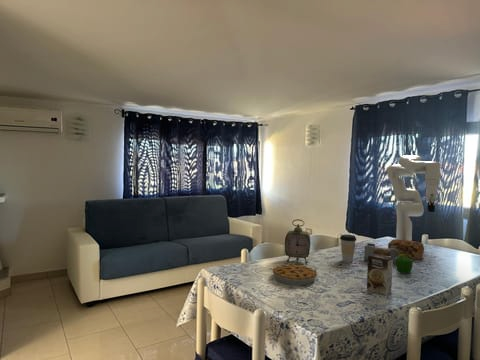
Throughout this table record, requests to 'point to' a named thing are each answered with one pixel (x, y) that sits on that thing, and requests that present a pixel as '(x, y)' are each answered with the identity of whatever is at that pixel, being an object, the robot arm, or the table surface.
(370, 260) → the coffee box
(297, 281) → the pie
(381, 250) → the brown cylinder
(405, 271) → the bell pepper
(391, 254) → the saddle bracket
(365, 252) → the box
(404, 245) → the bread
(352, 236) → the coffee cup
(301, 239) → the tabletop clock
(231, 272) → the table surface
